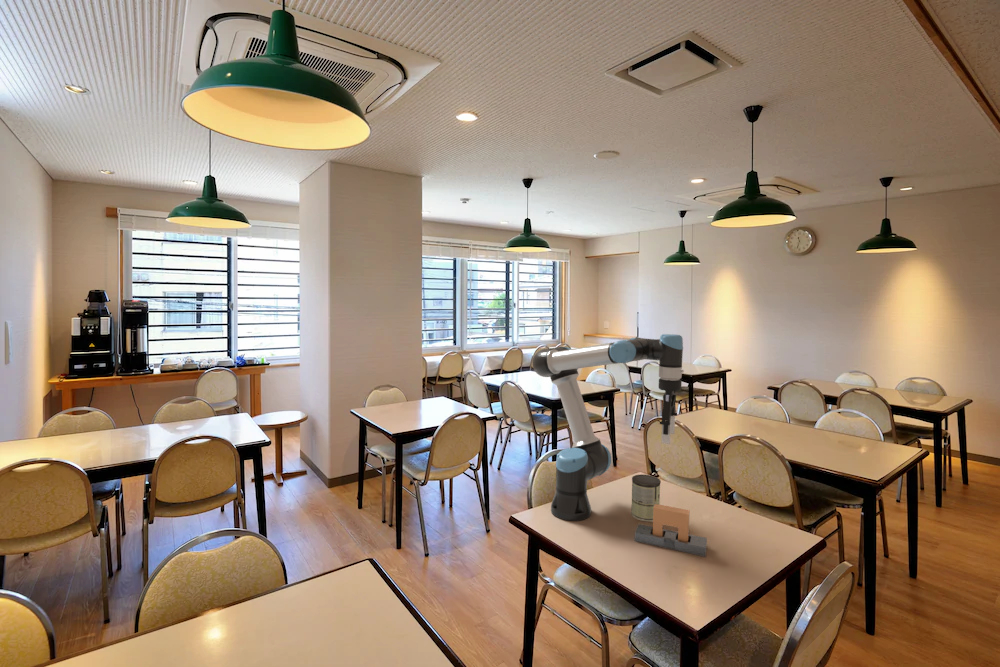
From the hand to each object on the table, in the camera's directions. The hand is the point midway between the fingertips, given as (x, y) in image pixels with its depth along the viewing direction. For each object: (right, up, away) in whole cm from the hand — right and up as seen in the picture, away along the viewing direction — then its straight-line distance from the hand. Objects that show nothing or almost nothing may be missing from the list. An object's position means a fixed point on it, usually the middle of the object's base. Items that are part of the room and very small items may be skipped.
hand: (668, 438), depth 168 cm
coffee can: (-4, -32, +12) cm, 35 cm away
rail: (-2, -33, -9) cm, 35 cm away
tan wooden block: (-2, -33, -9) cm, 35 cm away
